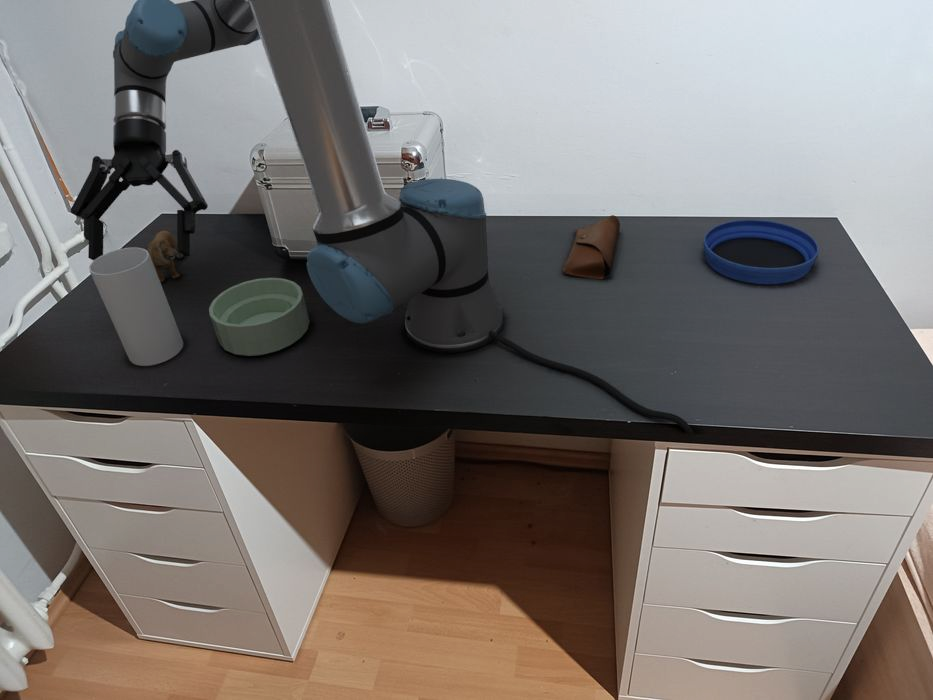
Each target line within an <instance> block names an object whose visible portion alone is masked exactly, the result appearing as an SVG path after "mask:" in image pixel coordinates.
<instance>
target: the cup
mask: <svg viewBox="0 0 933 700" xmlns="http://www.w3.org/2000/svg"><path fill="white" fill-rule="evenodd" d="M88 270H89V273H90V275H91V278H92V280H93V282H94V285H95V286H96V288H97V291H98V294H99V296H100V298H101V300H102V302H103V304H104V306H105V308H106V311H107V313H108V316H109V317H110V319H111V322H112V324H113V326H114V329H115V331H116V333H117V335H118V338H119V340H120V342H121V345H122V347H123V349H124V351H125V353H126V356H127V358H128V360H129V362H130V363H132V364H133V365H134V366H135V365H136V366H140V367H141V366H142V367H150V366H155V365H159V364H161V363H165V362H167V361H169V360H172V359H173V358H174V357H176V356H177V355H178V354H179V353H180V352H181V351H182V349H183V348H184V340H183V338H182V335H181V333H180V330H179V327H178V325H177V322H176V319H175V316H174V314H173V312H172V309H171V307H170V306H171V305H170V304H169V302H168V299H167V296H166V293H165V291H164V289H163V286H162V282H160V280H159V277H158V275H157V273H156V270H155V267H154V265H153V262H152V260H151V257H150V255H149V253H148V251H147V250H146V249H145V248H143V247H124V248H118V249H115V250H111V251H109V252H106V253H103V255H102V256H100V257H98V258H97V259H95V260H94V261H93V260H92V261H91V263H89V266H88Z"/></svg>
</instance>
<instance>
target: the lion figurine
mask: <svg viewBox="0 0 933 700" xmlns="http://www.w3.org/2000/svg"><path fill="white" fill-rule="evenodd" d="M145 250H147V251H148V253H149V255H150V257H151V260H152V262H153V265H154V267H155V270H156V273H157V275H158V278H159V280H160V283H163V282H164V281H165V276H164V274H163V273H162V270H165V269H167V268H169V273H170V276H171V277H172V278H173V279H177V278H179V277H180V274H179V273H178V272H177V270H176V267H175V262H174V259H175V258H176V257H177V258H178V259H182V258H184V255H183V254H181V253H180V252H178V251H177V239H176V238H175V237H174V235H173V234H172V233H171V232H170V231H167V230H161V231H160V232H157V233H156V234H155V236H154V238H153V239H151V240H150V241H148V243H147V245H146V249H145ZM176 253H177V255H176ZM175 255H176V257H175Z"/></svg>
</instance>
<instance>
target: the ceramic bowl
mask: <svg viewBox="0 0 933 700" xmlns="http://www.w3.org/2000/svg"><path fill="white" fill-rule="evenodd" d="M208 312H209V318H210V320H211V323H212V326H213V329H214V332H215V335H216V338H217V340H218V344H219V345H220V346H221V348H223V349H224V351H227V352H228V353H230V354H233V355H238V356H245V357H247V356H248V357H253V356H263V355H267V354H270V353H275V352H278V351H280V350H283V349H285V348H287V347H290V346H291V345H293V344H294V343H296V342H297V341H298V340H300V339H301V338H302V337H303V336H304V335H305V333H306V332H307V331H308V329H309V326H310V319H309V318H310V317H309V313H308V310H307V305H306V301H305V297H304V293H303V291H302V287H301V286H300V285H298V284H297V283H296V282H295V281H292V280H290V279H286V278H282V277H281V278H278V277H263V278H254V279H251V280H246V281H244V282H240V283H238V284H236V285H233V286H230V287H229V288H227V289H225V290H224V291H222V292H221V293H220V294H218V295H217V296H216V297H215V298H214V299H213V300H212V302H211V303H210V305H209V308H208Z"/></svg>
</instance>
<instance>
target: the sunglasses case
mask: <svg viewBox="0 0 933 700" xmlns="http://www.w3.org/2000/svg"><path fill="white" fill-rule="evenodd" d="M620 227H621V223H620V220H619V217H617V216H616V215H614V214H611V215H609V216H607V217H605V218H604V219H602V220H600V221H597V222H595V223H592V224H589V225H585V226H582V227H580V228H577V229H576V230H575V235H574V239H573V243H572V245H571V248H570V251H569V254H568V256H567V259H566V261H565V262H564V266H563V268H562V273H563V274H565V275H568V276H573V277H578V278H582V279H583V278H584V279H593V280H604V279H607V278H608V277H609V276H610V275H611V272H612V269H613V263H614V258H615V253H616V249H617V244H618V238H619V234H620V230H621V229H620Z"/></svg>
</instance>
